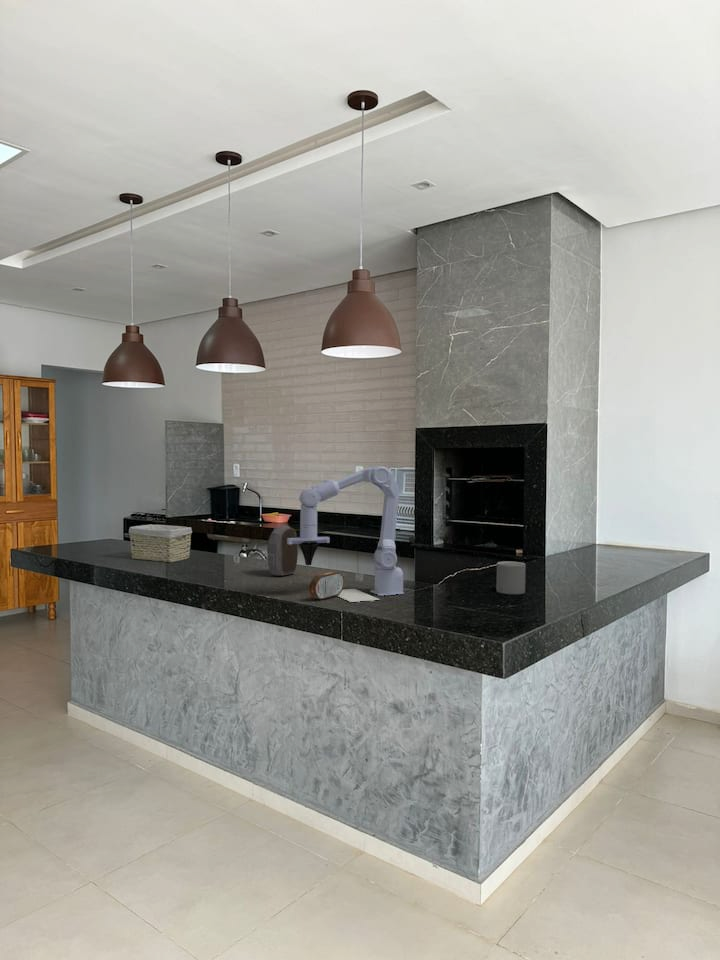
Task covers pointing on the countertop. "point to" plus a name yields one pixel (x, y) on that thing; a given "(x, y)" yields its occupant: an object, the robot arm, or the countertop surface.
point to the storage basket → (160, 542)
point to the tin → (326, 585)
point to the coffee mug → (510, 577)
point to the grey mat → (355, 596)
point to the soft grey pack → (282, 551)
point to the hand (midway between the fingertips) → (308, 564)
